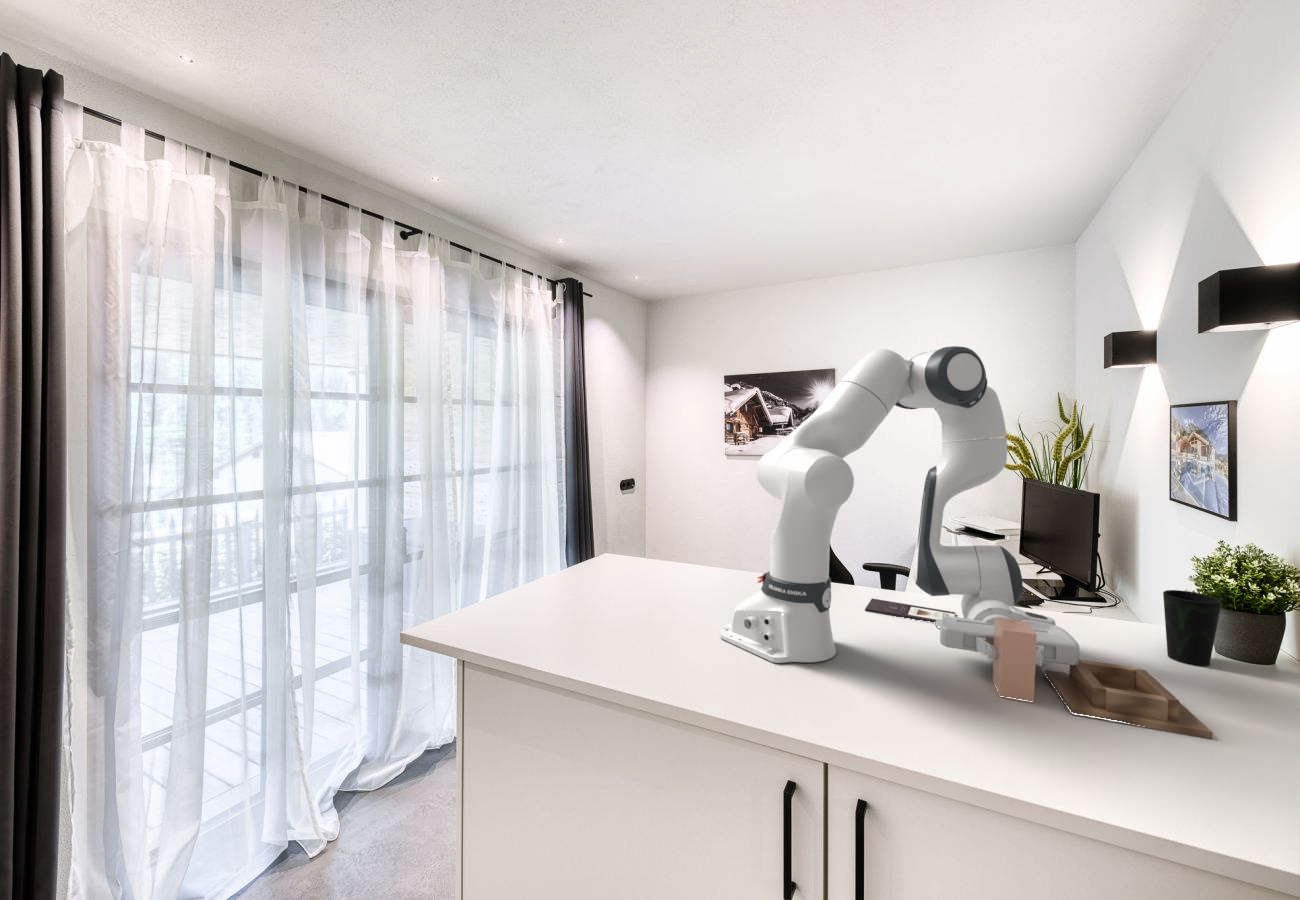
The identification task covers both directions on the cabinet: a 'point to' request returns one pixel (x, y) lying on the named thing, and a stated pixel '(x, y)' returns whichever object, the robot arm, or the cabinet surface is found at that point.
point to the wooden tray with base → (1124, 697)
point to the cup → (1190, 626)
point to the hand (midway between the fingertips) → (1015, 657)
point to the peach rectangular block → (1014, 659)
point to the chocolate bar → (906, 610)
